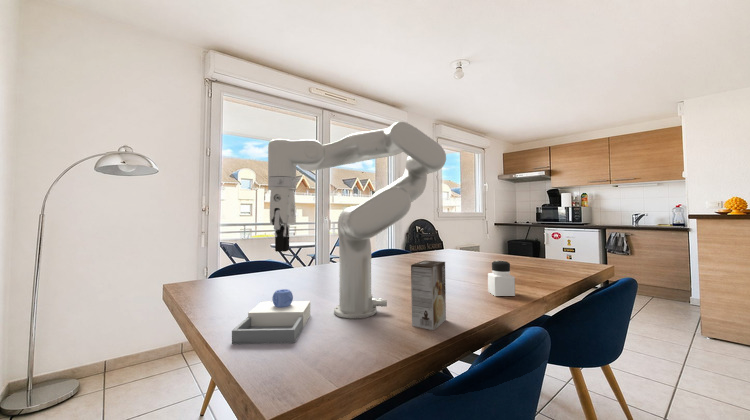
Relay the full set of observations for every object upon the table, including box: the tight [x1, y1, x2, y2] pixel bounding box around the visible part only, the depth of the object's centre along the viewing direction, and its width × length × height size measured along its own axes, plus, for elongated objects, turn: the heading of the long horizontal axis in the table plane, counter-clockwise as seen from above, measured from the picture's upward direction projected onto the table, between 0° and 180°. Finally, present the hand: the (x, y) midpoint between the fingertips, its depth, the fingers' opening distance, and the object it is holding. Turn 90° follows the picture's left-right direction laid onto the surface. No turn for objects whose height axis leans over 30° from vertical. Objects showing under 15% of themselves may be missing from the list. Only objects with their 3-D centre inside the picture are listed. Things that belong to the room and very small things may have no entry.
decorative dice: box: [271, 288, 294, 308], centre depth 84 cm, size 4×4×4 cm
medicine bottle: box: [487, 260, 516, 297], centre depth 110 cm, size 7×7×12 cm
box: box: [231, 316, 304, 345], centre depth 73 cm, size 14×9×3 cm, turn 92°
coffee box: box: [410, 259, 447, 331], centre depth 81 cm, size 9×6×16 cm
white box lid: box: [247, 300, 311, 328], centre depth 83 cm, size 14×10×4 cm
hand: (282, 250), depth 84 cm, fingers closed
